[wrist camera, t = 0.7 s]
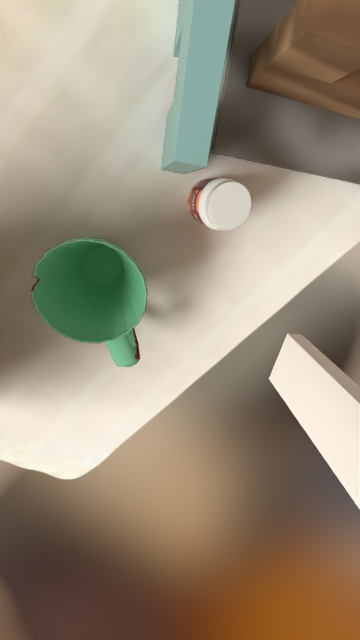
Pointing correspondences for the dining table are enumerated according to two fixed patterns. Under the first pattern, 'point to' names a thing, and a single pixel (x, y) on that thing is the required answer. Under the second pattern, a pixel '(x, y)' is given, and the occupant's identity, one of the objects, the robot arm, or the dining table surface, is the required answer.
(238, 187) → the pill bottle
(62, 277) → the mug
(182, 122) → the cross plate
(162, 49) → the dining table surface
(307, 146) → the slotted stand
